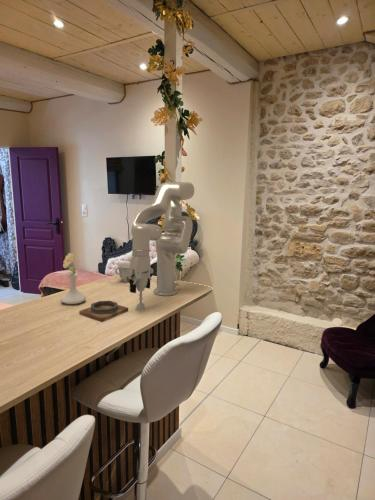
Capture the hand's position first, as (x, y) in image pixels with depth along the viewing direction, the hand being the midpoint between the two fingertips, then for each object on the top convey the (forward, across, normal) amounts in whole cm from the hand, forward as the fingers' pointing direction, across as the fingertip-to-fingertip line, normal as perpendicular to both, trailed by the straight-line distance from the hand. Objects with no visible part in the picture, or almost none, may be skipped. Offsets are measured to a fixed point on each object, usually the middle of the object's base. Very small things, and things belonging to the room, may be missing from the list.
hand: (140, 290), depth 152 cm
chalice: (+10, -1, 0) cm, 10 cm away
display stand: (+10, +12, -10) cm, 19 cm away
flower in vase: (+10, +12, -31) cm, 35 cm away
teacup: (+9, -30, -37) cm, 48 cm away
